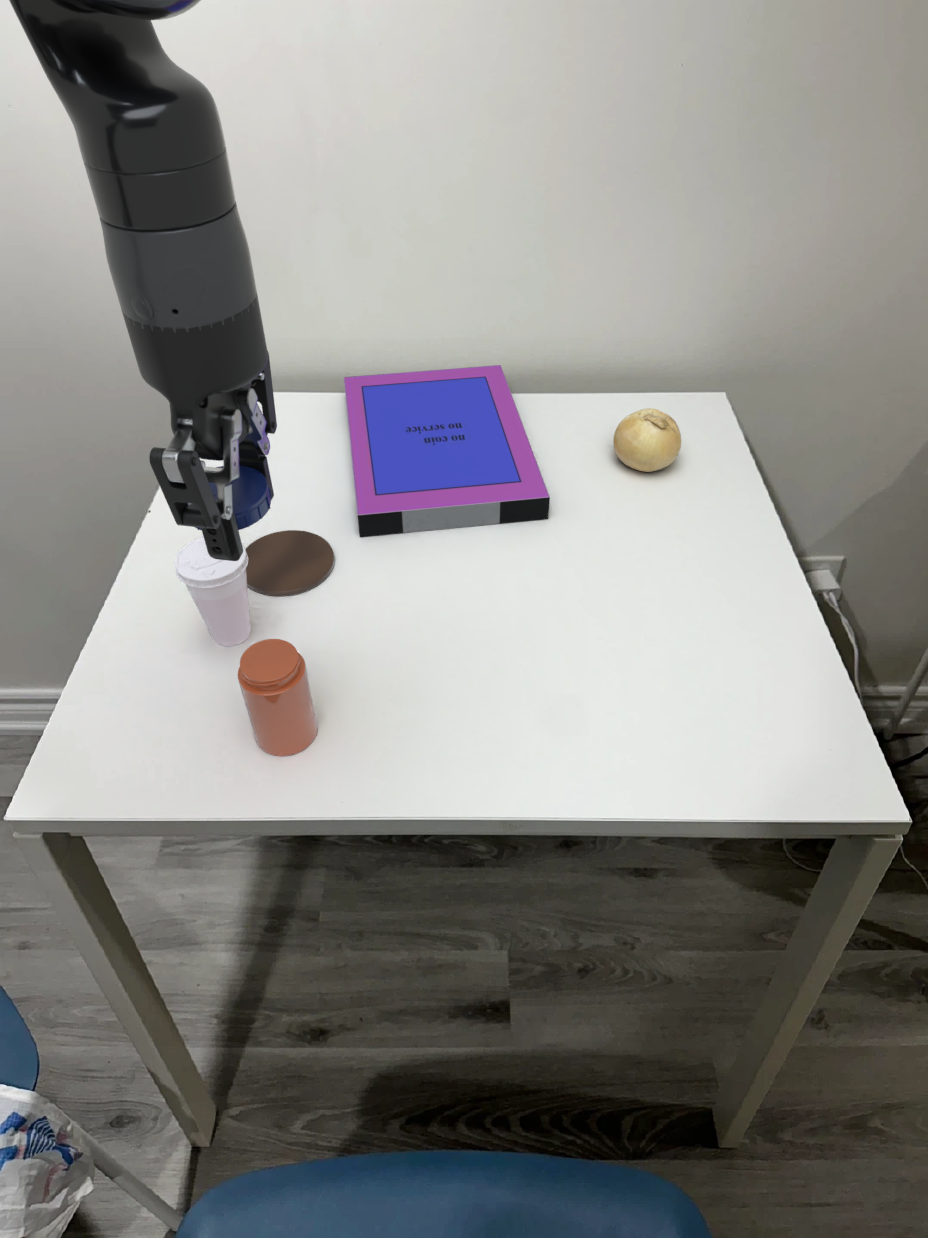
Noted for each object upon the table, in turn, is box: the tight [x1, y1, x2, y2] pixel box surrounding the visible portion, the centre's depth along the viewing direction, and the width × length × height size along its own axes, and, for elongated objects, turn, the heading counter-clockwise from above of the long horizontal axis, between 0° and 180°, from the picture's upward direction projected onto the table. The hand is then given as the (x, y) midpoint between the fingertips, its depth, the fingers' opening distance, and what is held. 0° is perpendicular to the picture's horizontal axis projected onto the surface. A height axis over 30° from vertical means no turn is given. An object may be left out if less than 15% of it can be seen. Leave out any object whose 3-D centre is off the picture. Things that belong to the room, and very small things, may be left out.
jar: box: [237, 638, 319, 757], centre depth 71 cm, size 5×5×9 cm
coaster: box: [245, 529, 335, 597], centre depth 89 cm, size 10×10×1 cm
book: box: [343, 364, 551, 538], centre depth 103 cm, size 21×3×30 cm
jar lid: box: [187, 465, 273, 531], centre depth 58 cm, size 6×6×2 cm
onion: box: [612, 407, 682, 473], centre depth 100 cm, size 8×8×7 cm
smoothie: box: [173, 536, 252, 647], centre depth 77 cm, size 6×6×14 cm
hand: (243, 526), depth 60 cm, fingers closed on jar lid, 6 cm apart
